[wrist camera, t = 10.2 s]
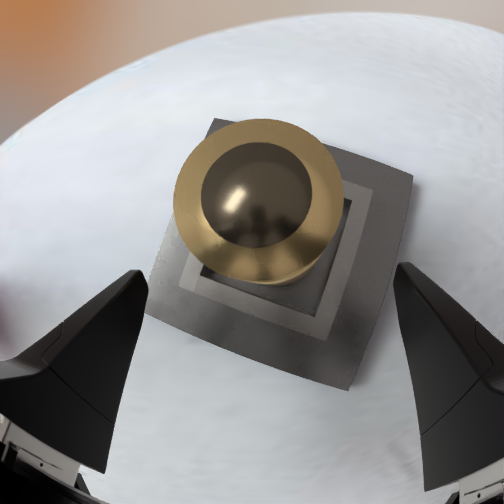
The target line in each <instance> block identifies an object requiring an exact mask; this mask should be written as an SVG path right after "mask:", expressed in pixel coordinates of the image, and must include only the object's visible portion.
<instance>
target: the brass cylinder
mask: <svg viewBox="0 0 504 504" xmlns="http://www.w3.org/2000/svg"><path fill="white" fill-rule="evenodd" d="M343 204H344V190H343V183H342V178H341V175H340V171H339V169H338V167H337V164H336V162H335V160H334V159H333V157H332V155H331V154H330V152H329V151H328V150H327V149H326V147H325V146H324V145H323V144H322V143H321V142H320V141H319V140H318V139H317V138H316V137H314V136H313V135H311V134H310V133H309V132H307V131H305V130H304V129H302V128H300V127H298V126H295V125H293V124H290V123H287V122H283V121H279V120H272V119H251V120H245V121H240V122H236V123H233V124H231V125H228V126H225V127H223V128H221V129H219V130H217V131H216V132H214V133H213V134H211V135H209V136H208V137H207V138H206V139H204V140H203V141H202V142H201V143H200V144H199V145H198V146H197V147H196V148H195V149H194V150H193V151H192V153H191V154H190V155H189V157H188V158H187V160H186V161H185V163H184V165H183V166H182V168H181V171H180V173H179V175H178V178H177V182H176V185H175V190H174V199H173V208H174V217H175V221H176V226H177V228H178V231H179V234H180V236H181V238H182V240H183V241H184V243H185V245H186V246H187V248H188V249H189V250H190V252H191V253H192V254H193V255H194V256H195V257H196V258H197V259H198V260H199V261H200V262H201V263H203V264H204V265H205V266H207V267H208V268H210V269H211V270H213V271H215V272H217V273H219V274H221V275H224V276H227V277H229V278H234V279H238V280H242V281H247V282H253V283H258V284H263V285H268V286H285V285H289V284H293V283H295V282H297V281H299V280H300V279H302V278H303V277H304V276H306V275H307V274H308V273H309V272H310V270H311V269H312V268H313V266H314V265H315V263H316V262H317V260H318V259H319V257H320V256H321V254H322V253H323V251H324V250H325V248H326V247H327V245H328V244H329V242H330V241H331V239H332V238H333V236H334V234H335V232H336V230H337V228H338V226H339V222H340V219H341V216H342V211H343Z"/></svg>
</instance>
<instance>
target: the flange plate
mask: <svg viewBox="0 0 504 504" xmlns="http://www.w3.org/2000/svg"><path fill="white" fill-rule="evenodd" d="M233 123H236V122H233V121H228V120H223V119H217V118H214V120H213V122H212V124H211V126H210V128H209V130H208V133H207V135H206V137H205V139H206V138H207V137H208V136H209V135H211V134H213V133H214V132H216V131H217V130H219V129H221V128H223V127H225V126H228V125H231V124H233ZM322 144H323V143H322ZM323 145H324V146H325V147H326V149H327V150H328V151H329V152H330V154H331V155H332V157H333V159H334V160H335V162H336V164H337V167H338V169H339V171H340V175H341V178H342V183H343V190H344V204H343V211H342V216H341V219H340V222H339V226H338V228H337V230H336V232H335V234H334V236H333V238H332V239H331V241H330V242H329V244H328V245H327V247H326V248H325V250H324V251H323V253H322V254H321V256H320V257H319V259H318V260H317V262H316V263H315V265H314V266H313V268H312V269H311V270H310V272H309V273H308V274H307V275H306V276H304V277H303V278H302V279H300V280H299V281H297V282H295V283H293V284H289V285H285V286H268V285H263V284H258V283H253V282H247V281H242V280H238V279H234V278H229V277H227V276H224V275H221V274H219V273H217V272H215V271H213V270H211V269H210V268H208V267H207V266H205V265H204V264H203V263H201V262H200V261H199V260H198V259H197V258H196V257H195V256H194V255H193V254H192V253H191V252H190V250H189V249H188V248H187V246H186V245H185V243H184V241H183V240H182V238H181V236H180V234H179V231H178V228H177V226H176V221H175V217H174V211H173V214H172V217H171V219H170V222H169V224H168V227H167V230H166V232H165V235H164V238H163V241H162V243H161V246H160V249H159V252H158V254H157V257H156V260H155V263H154V266H153V269H152V272H151V275H150V278H149V281H148V287H149V293H148V298H147V302H146V307H145V312H144V313H146V314H148V315H150V316H152V317H155V318H157V319H159V320H161V321H163V322H165V323H167V324H169V325H171V326H173V327H176V328H178V329H180V330H182V331H184V332H187V333H189V334H191V335H193V336H196V337H198V338H200V339H202V340H205V341H207V342H210V343H212V344H214V345H217V346H219V347H221V348H224V349H226V350H229V351H231V352H234V353H236V354H239V355H241V356H244V357H247V358H249V359H252V360H255V361H257V362H260V363H263V364H265V365H268V366H271V367H274V368H276V369H279V370H282V371H285V372H288V373H291V374H294V375H297V376H300V377H303V378H306V379H309V380H312V381H316V382H319V383H322V384H325V385H329V386H332V387H335V388H339V389H342V390H346V391H348V390H349V388H350V385H351V383H352V381H353V379H354V376H355V374H356V372H357V369H358V367H359V364H360V362H361V360H362V357H363V355H364V352H365V350H366V347H367V345H368V342H369V339H370V337H371V334H372V331H373V329H374V326H375V323H376V320H377V317H378V314H379V311H380V308H381V305H382V302H383V299H384V296H385V293H386V290H387V287H388V283H389V280H390V277H391V273H392V270H393V266H394V262H395V259H396V255H397V251H398V247H399V243H400V239H401V235H402V231H403V227H404V222H405V217H406V213H407V208H408V203H409V198H410V192H411V187H412V181H413V175H411V174H408V173H406V172H403V171H401V170H398V169H396V168H393V167H391V166H388V165H385V164H383V163H380V162H377V161H375V160H372V159H369V158H366V157H363V156H360V155H357V154H354V153H351V152H348V151H345V150H342V149H339V148H336V147H333V146H329V145H326V144H323Z"/></svg>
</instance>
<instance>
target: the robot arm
mask: <svg viewBox="0 0 504 504" xmlns="http://www.w3.org/2000/svg"><path fill="white" fill-rule="evenodd" d="M393 288H394V294H395V300H396V306H397V312H398V319H399V325H400V330H401V334H402V338H403V342H404V347H405V351H406V355H407V360H408V365H409V370H410V374H411V380H412V385H413V390H414V396H415V402H416V408H417V415H418V422H419V430H420V436H421V437H420V439H421V449H422V460H423V474H424V491H425V492H426V491H430V490H433V489H436V488H439V487H443V486H446V485H449V484H452V483H454V482H457V481H458V482H459V491H458V492H456V493H453V494H452V495H451V496H450V498H449V499H448V501H447V502H446V503H445V504H504V344H502V343H501V342H500V341H499V340H498V339H497V338H496V337H494V336H493V335H492V334H491V333H490V332H489V331H488V330H487V329H486V328H485V327H484V326H483V325H482V324H480V323H479V322H478V321H476V319H475V318H474V317H473V316H472V315H471V314H470V313H469V312H468V311H466V310H465V309H464V308H463V307H462V306H461V305H460V304H459V303H458V302H456V301H455V300H454V299H453V298H452V297H451V296H450V295H449V294H447V293H446V292H445V291H444V290H443V289H442V288H440V287H439V286H438V285H437V284H436V283H435V282H433V281H432V280H431V279H430V278H429V277H427V276H426V275H425V274H424V273H423V272H421V271H420V270H419V269H418V268H416V267H415V266H414V265H413V264H411V263H410V262H401V263H399V264H398V266H397V269H396V273H395V277H394V282H393ZM148 293H149V287H148V284H147V282H146V280H145V277H144V275H143V273H142V271H141V270H130V271H128V272H127V273H125V274H124V275H123V276H121V277H120V278H119V279H117V280H116V281H115V282H113V283H112V284H111V285H109V286H108V287H107V288H105V289H104V290H103V291H101V292H100V293H99V294H97V295H96V296H95V297H93V298H92V299H91V300H90V301H88V302H87V303H86V304H84V305H83V306H82V307H81V308H79V309H78V310H77V311H75V312H74V313H73V314H72V315H70V316H69V317H68V318H67V319H65V320H64V322H62V323H60V324H59V325H58V326H57V327H55V328H54V329H53V330H52V331H50V332H49V333H48V334H46V335H45V336H44V337H42V338H41V339H40V340H38V341H37V342H36V343H34V344H33V345H31V346H30V347H29V348H27V349H26V350H25V351H23V352H22V353H21V354H19V355H18V356H16V357H15V358H12V359H10V360H6V361H0V504H109V503H106V502H104V501H101V500H99V499H97V498H95V497H93V496H91V495H90V493H89V490H88V488H87V486H86V484H85V482H84V480H83V478H82V475H81V474H80V473H78V471H79V468H80V464H81V465H84V466H86V467H88V468H91V469H93V470H95V471H98V472H100V473H103V474H105V471H106V466H107V460H108V455H109V450H110V445H111V440H112V436H113V431H114V427H115V422H116V417H117V413H118V409H119V405H120V401H121V397H122V393H123V389H124V385H125V381H126V378H127V374H128V370H129V367H130V363H131V360H132V356H133V353H134V350H135V346H136V343H137V340H138V336H139V333H140V330H141V326H142V322H143V317H144V312H145V307H146V302H147V298H148Z"/></svg>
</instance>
